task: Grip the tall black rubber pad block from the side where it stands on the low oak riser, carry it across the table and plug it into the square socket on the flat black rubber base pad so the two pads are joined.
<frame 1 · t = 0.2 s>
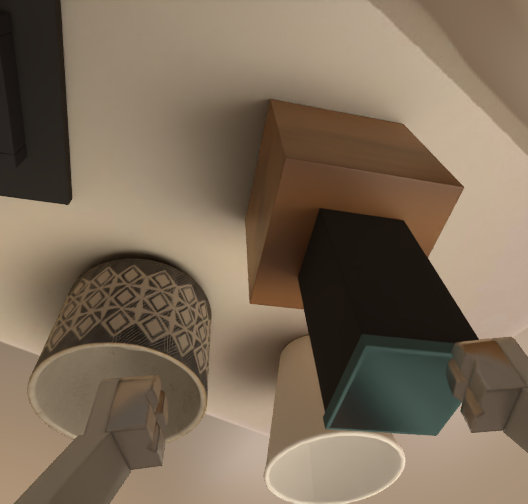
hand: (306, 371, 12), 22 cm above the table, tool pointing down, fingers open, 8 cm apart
planter: (143, 304, 40), on the table
riser: (319, 175, 33), on the table
cup: (311, 355, 46), on the table
pad block: (348, 250, 25), point 10 cm above the table, touching riser
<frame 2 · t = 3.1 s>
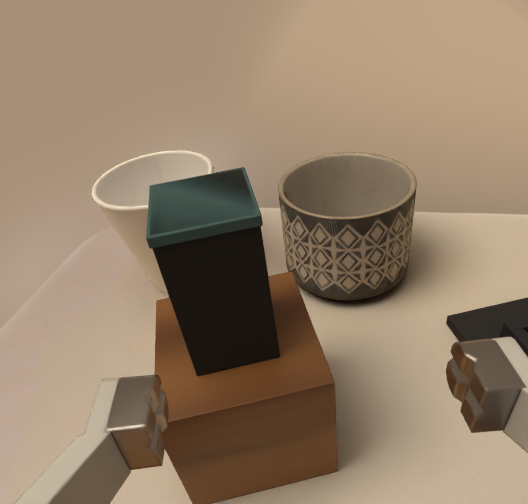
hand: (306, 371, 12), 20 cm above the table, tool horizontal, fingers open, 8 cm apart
planter: (346, 268, 46), on the table
riser: (254, 423, 33), on the table
cup: (183, 274, 49), on the table
pad block: (233, 335, 27), point 10 cm above the table, touching riser
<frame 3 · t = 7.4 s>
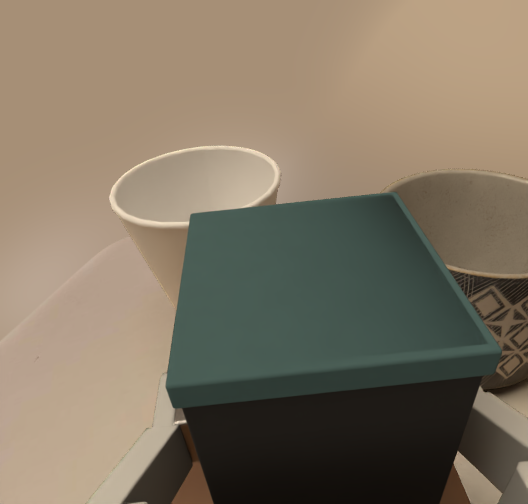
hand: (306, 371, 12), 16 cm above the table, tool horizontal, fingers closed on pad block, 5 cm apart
planter: (448, 330, 33), on the table
cup: (221, 310, 37), on the table
pad block: (315, 498, 14), point 10 cm above the table, touching gripper, riser
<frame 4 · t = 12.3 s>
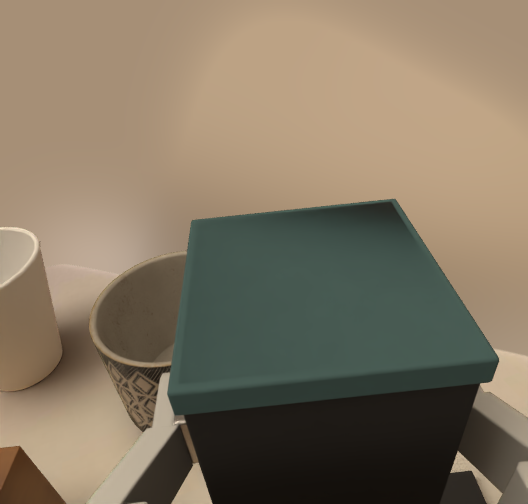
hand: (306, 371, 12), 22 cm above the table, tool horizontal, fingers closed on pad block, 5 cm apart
planter: (200, 385, 39), on the table
cup: (28, 363, 43), on the table
pad block: (315, 501, 15), point 16 cm above the table, touching gripper
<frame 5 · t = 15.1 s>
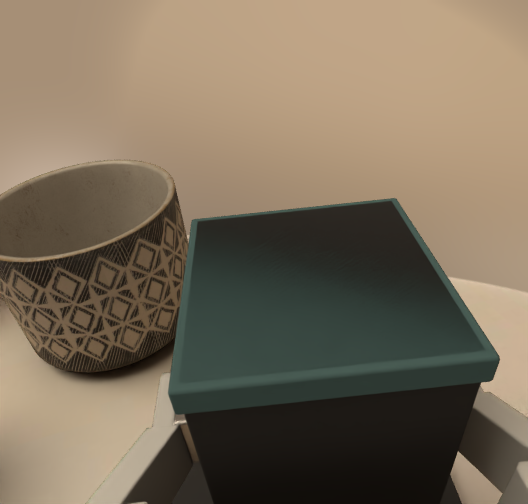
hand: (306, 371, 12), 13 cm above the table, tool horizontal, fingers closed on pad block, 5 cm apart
planter: (122, 317, 34), on the table
pad block: (315, 501, 15), point 8 cm above the table, touching gripper
when the fingers open (7 cm above the table, at t = 17.4 s): pad block stays where it is, resting on base pad.
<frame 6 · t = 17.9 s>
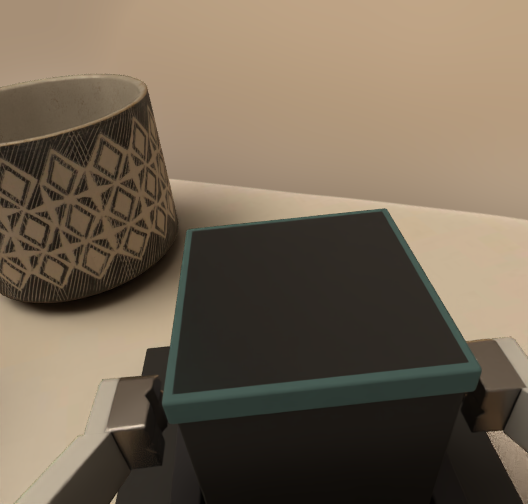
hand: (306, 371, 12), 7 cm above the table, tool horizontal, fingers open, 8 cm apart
planter: (93, 255, 30), on the table
pad block: (309, 503, 15), point 1 cm above the table, touching base pad
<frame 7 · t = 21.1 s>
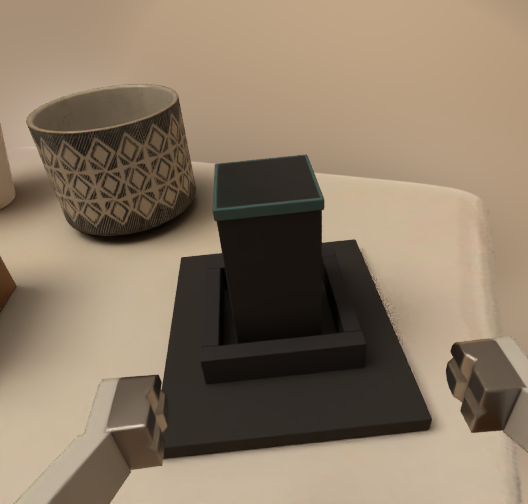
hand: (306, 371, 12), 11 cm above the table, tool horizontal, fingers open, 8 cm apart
planter: (135, 210, 43), on the table
pad block: (276, 319, 28), point 1 cm above the table, touching base pad
base pad: (278, 330, 28), on the table
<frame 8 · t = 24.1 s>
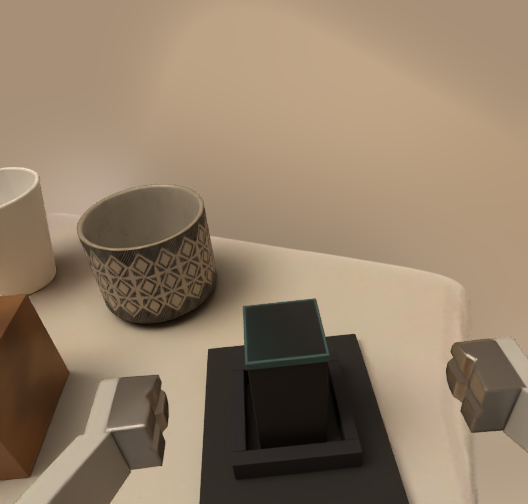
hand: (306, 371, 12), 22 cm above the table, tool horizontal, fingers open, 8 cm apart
planter: (164, 291, 50), on the table
cup: (28, 280, 54), on the table
pad block: (290, 416, 34), point 1 cm above the table, touching base pad
base pad: (291, 424, 35), on the table
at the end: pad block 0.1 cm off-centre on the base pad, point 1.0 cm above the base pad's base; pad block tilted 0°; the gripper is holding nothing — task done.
